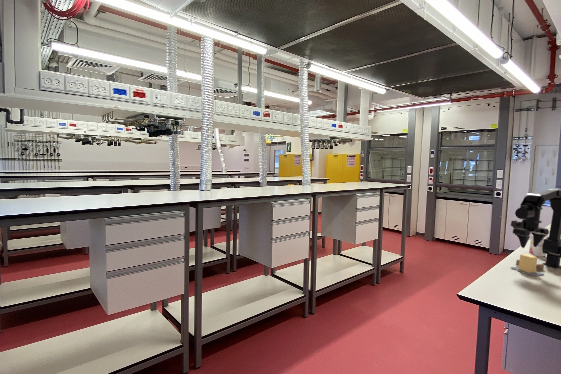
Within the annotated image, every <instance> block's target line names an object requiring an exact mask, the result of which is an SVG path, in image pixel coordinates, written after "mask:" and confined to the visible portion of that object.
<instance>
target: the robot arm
mask: <svg viewBox="0 0 561 374" xmlns="http://www.w3.org/2000/svg"><path fill="white" fill-rule="evenodd" d="M547 201H549V202H550V204H549V205H550V209H551V210H552V214H551V215H552V217H551V223H550V228H549V229H548V228H547V227H546V228H545V227H540V224H542V223H543V222H542V220H540V219H541V211H542V210H543V209H544V208H543V205H545V204H546V202H547ZM514 214H515V217H516V218H518V219H519V220H521V221H518V220H511V221H510V227H512V228H513V229H512V234H513V235H515V236H517V238H518V240H519V242H520V247H521V249H525V247H526V246H527V244H528V241H529V239H530V238H531V235H533V245H534V247H537V245H538V244H539V243H540V242H541V241H542V240H543V238H544V237H545V236H547V235H546V234H548V238H547V239H544V242H543V245H542V250H543V253H545V254H546V257H545V262H542V263H541V264H544V266H548V267H551V268H555V269H559V268H561V189H560V188H559V189H558V188H548V189H547V190H544V191H541V192H539V193H535V192H534V193H533V192H532V193H531V192H530V193H526V195H525V196H524V198H523V200H522V202H521V203H520V206H519V207H518V208H517V209H516V210H515V211H514Z"/></svg>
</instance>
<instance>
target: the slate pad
mask: <svg viewBox="0 0 561 374" xmlns="http://www.w3.org/2000/svg"><path fill="white" fill-rule="evenodd" d="M511 269H512V270H515V271H517V272H520V273H522V274H526V275H528V276H531V277H539V276H544V275H545V274H544V273H542V272H539V271H538V270H536V272H531V273H528V272H525V271H522V270H520V269H519V266H511V267H510V270H511Z"/></svg>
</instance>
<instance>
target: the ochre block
mask: <svg viewBox="0 0 561 374" xmlns="http://www.w3.org/2000/svg"><path fill="white" fill-rule="evenodd" d="M519 260H520V261H519V266H518V267H519V269H520V270H522V271H525V272H528V273H531V272H536V271H537V270H536V264H538V263H537V262H538V256H536V255H533V254H532V255H531V254H528V253H523V254H519Z"/></svg>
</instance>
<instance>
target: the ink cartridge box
mask: <svg viewBox="0 0 561 374" xmlns="http://www.w3.org/2000/svg"><path fill="white" fill-rule="evenodd" d="M546 235H547V236H545V237H544V238H543V240H542V241H541V242H540V243H539V244H538V245H537V247H534V245H533V235H532V234H530V244H529V249H528V250H529V251H528V252H529V253H530V254H532V255H533V256H536V257H541V256H545V257H544V258H546V257H547V254H545V253H543V250H542V245H543V242H544V239H547V238H548V237H549V234H546Z"/></svg>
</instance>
